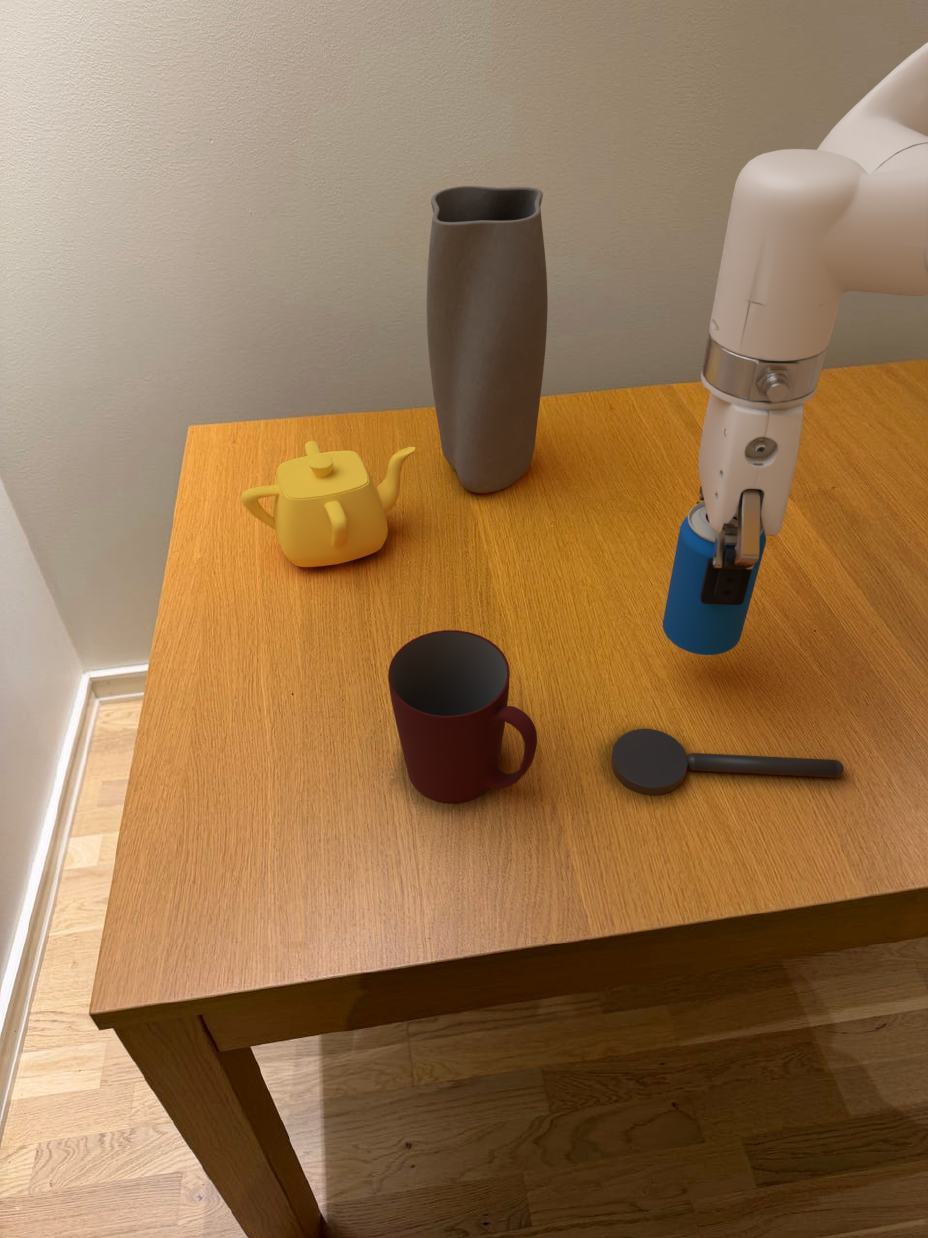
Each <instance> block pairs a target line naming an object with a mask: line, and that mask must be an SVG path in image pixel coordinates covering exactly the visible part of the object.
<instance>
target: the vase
mask: <svg viewBox="0 0 928 1238" xmlns="http://www.w3.org/2000/svg"><path fill="white" fill-rule="evenodd" d="M543 193H544V192H542V190H541V189H539V188H536V187H532V186H531V187H530V186H505V187H496V186H495V187H494V186H482V185H461V186H453V187H449V188H445V189H442V190H439V191H437V192H436V193H434V194H433V195H432V196H431V198H430V204H431V208H432V213H433V214H432V217H431V218H432V220H431V228H430V237H429V247H428V261H427V275H426V276H427V277H426V279H427V280H426V333H427V348H428V359H429V361H428V363H429V369H430V378H431V384H432V393H433V400H434V407H435V413H436V420H437V425H438V432H439V439H440V445H441V451H442V454H443V456H444V459H445V460H446V462H447V463H448V464H449V466H450V467H451V468H452V469H453V470H454V471H455V472H456V475H457V479H458V480H459V482H460V485H461V486H462V487H463V488H464V489H466V490H467V491H469V492H472V493H476V494H490V493H495V492H498V491H501V490H504V489H506V488H508V487H510V486H512V485H513V484H515V483H516V482H517V481H518V480H520V479H521V478H522V477H523V476H524V475H525V473H526V472H527V471H528V469H529V467H530V466H531V463H532V461H533V458H534V455H535V448H536V439H537V430H538V421H539V411H540V404H541V394H542V386H543V378H544V377H543V376H544V367H545V358H546V348H547V347H546V345H547V333H548V330H547V329H548V308H549V307H548V305H549V304H548V303H549V302H548V301H549V300H548V299H549V298H548V275H547V274H548V273H547V259H546V250H545V241H544V240H545V239H544V232H543V231H544V229H543V222H542V209H541V207H542V202H543V197H544V194H543Z"/></svg>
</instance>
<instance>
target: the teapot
mask: <svg viewBox="0 0 928 1238" xmlns="http://www.w3.org/2000/svg"><path fill="white" fill-rule="evenodd" d="M415 451H416V447H415V446H408V447H404V448H402V449H400V450H398V451H396V452H395V453H394V454H393V455H392V456H391V458H390V459H389V461H388V463H387V464H388V465H387V469H386V474H385V477H384V479H383V481H382V482H381V483H379V484H378V485H376V484H375V481H374V480H373V477H372V475H371V474H370V472H369V470H368V469H367V467H366V465H365V463H364V461H363V459H362V458H361V456H360V455H359V454H358V453H357V452H356V451H353V450H333V451H325V452H322V449H321V446H320V444H319V442H318V441H316V440H309V441H307V442H306V443H305V444H304V452H305V455H304V456H303V455H302V456H299V457H296V458H292V459H289V460H286V461H284V462H282V463H280V465H278V466H277V469H276V473H275V477H274V482H273V484H272V485H271V484H270V485H260V486H254V487H250V488H248V489H246V490H244V491H243V492H242V494H241V496H240V497H241V498H240V499H241V504H242V506H244V508H245V509H246V511H247V512H248V513H250V514H251V515H252V516H253V517H254V518H256V519H257V520H259V521H260V522H262V523H263V524H265V525H267V526H268V527H270V528H271V529H273V530H274V533H275V536H276V539H277V541H278V544H279V546H280V549H281V550H282V552H283V554H284V556H285V557H286V558H287V559H288V560H289V561H290V563H292V565H294V566H296V567H300V568H316V567H324V566H325V567H326V566H333V565H339V564H344V563H348V562H351V561H355V560H358V559H361V558H364V557H367V556H369V555H372V554H375V553H377V552H378V551H379V550H381V549H382V548H383V545H384V544H385V543H386V540H387V538H388V533H389V528H388V523H387V517H386V515H387V514H388V513H389V512H390V511H391V510H392V509H393V508H394V507H395V506H396V504H397V501H398V500H399V497H400V496H399V495H400V490H401V474H402V468H403V466H404V463H405V461H406V460H407V459H408V457H410V455H411V454H413V453H414V452H415ZM269 497H271V501H272V502H271V503H272V515H271V514H270V513H269V512H268V511H266V509H265V508H264V507H263V506H262V504H261V503H260V502H259V500H260V499H263V498H269Z"/></svg>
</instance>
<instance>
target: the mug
mask: <svg viewBox="0 0 928 1238" xmlns="http://www.w3.org/2000/svg"><path fill="white" fill-rule="evenodd" d="M387 678H388V679H387V680H388V687H389V689H388V690H389V695H390V701H391V705H392V711H393V715H394V719H395V725H396V728H397V733H398V734H397V735H398V739H399V742H400V746H401V750H402V756H403V759H404V763H405V767H406V771H407V775H408V778H409V780H410V783H411V784H412V785H413V787H414V788H415V789H416V790H417V791H418V792H419V793H420V794H422V795H423V796H424V797H426V798H428V799H431V800H433V801H435V802H440V803H446V804H448V803H449V804H455V803H463V802H468V801H470V800H473V799H476V798H477V797H479V796H481V795H483V794H484V793H485V792H486V791H487V790H488V789H490V788H495V789H505V788H509V787H512V786H513V785H514V784H516V783H517V782H519V781H520V780H521V779H522V778H523V776H524V775H525V774H526V773H527V772H528V770H529V769H530V767H531V766H532V764H533V761H534V759H535V755H536V751H537V746H538V745H537V744H538V732H537V728H536V725H535V723H534V722H533V720H532V718H531V717H530V716H529V715H528V714H527V713H526V712H525V711H523V710H522V709H520V708H518V707H516V706H512V705H508V702H509V694H510V693H509V692H510V678H511V672H510V664H509V661H508V659H507V657H506V655H505V653H504V652H503V651H502V650H501V648H499V646H498V645H496V644H495V643H493V642H492V641H491V640H490V639H488V638H486V637H483V636H482V635H479V634H476V633H474V632H470V631H464V630H458V629H444V630H435V631H431V632H428V633H424V634H422V635H420V636H417V637H415V638H412V639H411V640H409V641H408V642H407V643H405V644H404V645H402V646H401V647H400V649H398V650H397V652H395V654H394V656H393V657H392V659H391V660H390V663H389V667H388V673H387ZM506 723H507V724H508V725H510V726H512V727H514V729H516V730H517V732H519V734H520V736H521V738H522V740H523V746H524V748H523V756H522V761H521V763H520V766H519V768H518V770H516V771H514V772H510V773H503V772H502V771H501V769H500V759H501V754H502V753H501V752H502V746H503V739H504V734H505V725H506Z"/></svg>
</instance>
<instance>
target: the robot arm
mask: <svg viewBox="0 0 928 1238" xmlns="http://www.w3.org/2000/svg"><path fill="white" fill-rule="evenodd" d="M829 131H830V132H829V133H828V134H827V135H826V136H825V138H824V139H823V140H822V141H821V143H820V144H819V145H818V147H817V149H809V148H786V149H778V150H773V151H768V152H765V153H762V154H759V155H757V156H755V157H753V158H752V159H750V160H749V161H748V162H747V163H746V164H745V165H744V166H743V167H742V168H741V170H740V172H739V173H738V176H737V178H736V180H735V183H734V188H733V193H732V197H731V203H730V209H729V214H728V220H727V224H726V225H727V226H726V230H725V236H724V242H723V247H722V252H721V259H720V265H719V270H718V276H717V281H716V282H717V283H716V288H715V294H714V298H713V304H712V310H711V317H710V322H709V329H708V333H707V338H706V344H705V350H704V354H703V355H704V357H703V362H702V367H701V372H700V382H701V385H702V386H703V388H704V389H705V390H706V391H707V392H709V398H708V402H707V407H706V410H705V411H706V412H705V415H704V416H705V417H704V420H703V426H702V430H701V437H700V443H699V451H698V463H697V465H698V475H699V481H700V487H699V491H698V498H699V501H697V502H696V504H698V503H700V502H703V501H705V506H706V511H707V515H708V519H709V520H708V522H709V523H710V526H711V528H712V529H713V530H714V531H715V532H716V535H715V544H714V553H713V559H708V562H707V566H706V571H705V576H704V580H703V585H702V590H701V594H700V598H701V602H702V603H703V604H720V605H741V604H742V603H743V602H744V598H745V595H746V591H747V587H748V583H749V579H750V575H751V572H752V569H753V567H754V563H756V562H757V561H758V559H759V546H760V519H761V522H762V526H763V529H764V533H765V535H766V536H770V537H776V536H778V535H779V534H780V533H781V531H782V529H783V524H784V521H785V517H786V513H787V508H788V503H789V499H790V493H791V490H792V485H793V481H794V476H795V471H796V466H797V461H798V456H799V451H800V443H801V438H802V431H803V430H802V429H803V421H804V420H803V419H804V410H805V409H804V407H805V406H804V404H806V403H808V402H809V401H811V400H812V399H813V397H814V396H815V395H816V392H817V390H818V389H817V388H818V385H819V380H820V377H821V374H822V370H823V366H824V362H825V360H826V359H825V358H826V355H827V352H828V349H829V348H828V347H829V344H830V342H831V338H832V334H833V330H834V327H835V323H836V319H837V316H838V312H839V309H840V305H841V301H842V298H843V295H844V294H845V293H848V292H861V293H862V292H863V293H874V294H882V295H883V294H884V295H893V296H894V295H895V296H905V297H925V296H926V297H927V296H928V41H927V42H925V43H924V44H923V45H922V46H920V47H919V48H918V49H917V50H915V51H914V52H912V53H911V54H910V55H909V56H907V57H906V58H905V59H904V60H903V61H902V62H901V63H899V64H898V65H897V66H896V67H894V69H893V70H892V71H890V72H889V74H887V75H886V76H885V77H883V79H881V80H880V82H878V83H877V84H876V85H875V86H874V87H873V88H872V89H871V90H869V92H868V93H867V94H865V96H864V97H863V98H861V99H860V100H859V101H857V103H856V104H855V105H854V106H853V107H852V108H851V109H850V110H849V111H848V112H847V113H846V114H845V115H844V116H843V117H842V118H841V119H840V120H839V121H838V122H837V123H836V124H835V126H834V127H833V128H831V130H829ZM733 517H738V524H728V523H729V522H730V521H731V520H732V518H733ZM726 535H738V539H737V545H736V546H735V549H727V550H726V551H725V542H726Z"/></svg>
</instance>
